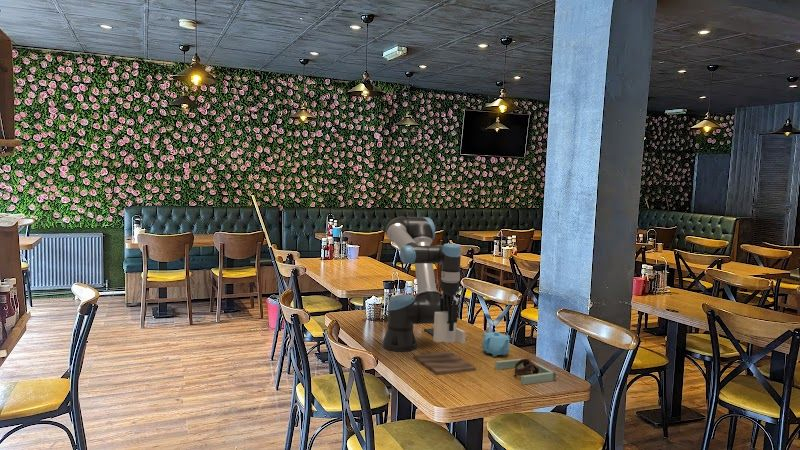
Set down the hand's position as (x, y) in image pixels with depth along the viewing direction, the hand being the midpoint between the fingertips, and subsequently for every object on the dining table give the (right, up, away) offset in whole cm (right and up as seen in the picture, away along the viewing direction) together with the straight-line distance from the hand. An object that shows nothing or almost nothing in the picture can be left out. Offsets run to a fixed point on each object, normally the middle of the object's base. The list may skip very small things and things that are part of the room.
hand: (447, 336), depth 234 cm
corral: (+30, -14, -8) cm, 34 cm away
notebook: (+2, -9, +43) cm, 44 cm away
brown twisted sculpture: (+31, -14, -10) cm, 35 cm away
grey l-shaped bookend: (-1, -1, 0) cm, 2 cm away
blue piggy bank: (+24, -11, +17) cm, 31 cm away
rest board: (-2, -11, +1) cm, 12 cm away
